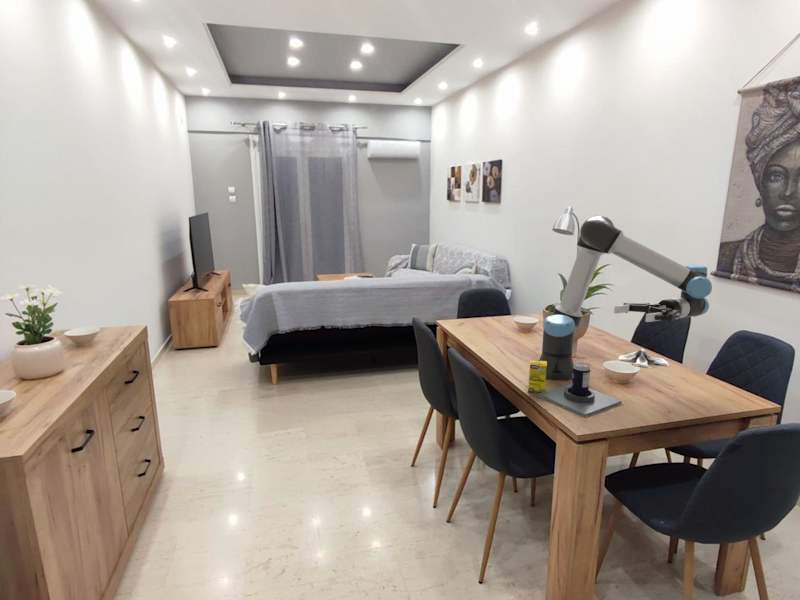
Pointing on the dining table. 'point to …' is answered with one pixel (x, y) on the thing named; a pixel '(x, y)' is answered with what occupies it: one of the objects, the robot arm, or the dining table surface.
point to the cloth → (642, 359)
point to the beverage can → (580, 379)
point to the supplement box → (537, 376)
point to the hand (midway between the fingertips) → (630, 313)
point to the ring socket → (580, 400)
